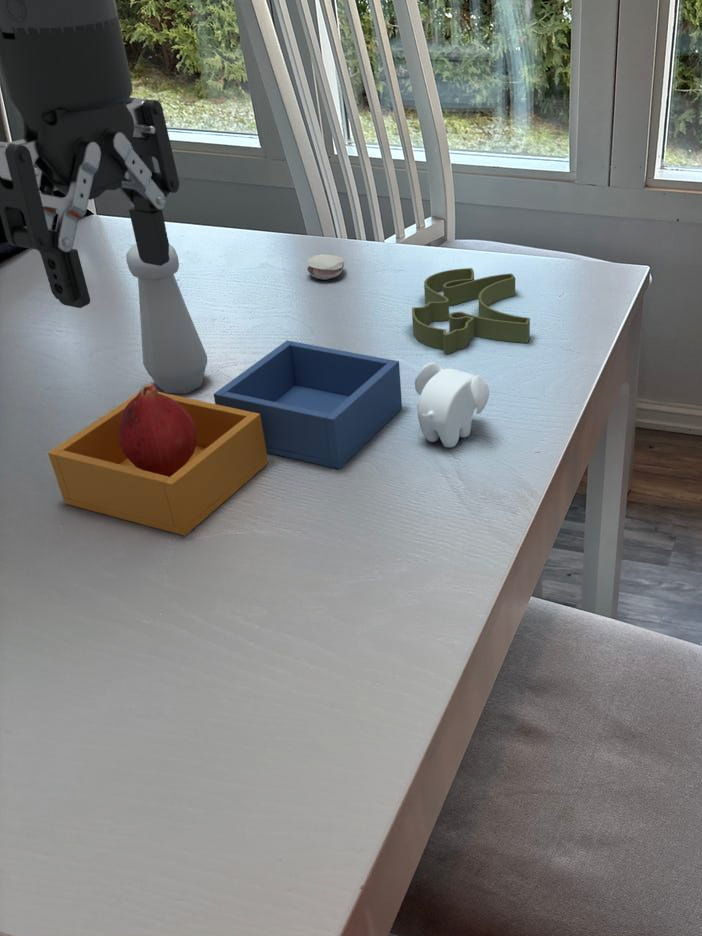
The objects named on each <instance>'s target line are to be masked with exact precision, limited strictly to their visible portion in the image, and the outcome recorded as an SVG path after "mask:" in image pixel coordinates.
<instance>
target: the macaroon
mask: <svg viewBox="0 0 702 936" xmlns="http://www.w3.org/2000/svg"><path fill="white" fill-rule="evenodd" d="M306 265H307V272H308V273H309V274H310V276H312V277H313V278H315V279H317V280H323V281H325V280H327V281H328V280H331V279H334V278H336V277H338V276H339V275H341V273H342V272H343V270H344V267H345V259H344V257H341V256H339V255H335V254H325V253H320V254H315V255H313V256H312V257H310V258H308V259H307V261H306Z"/></svg>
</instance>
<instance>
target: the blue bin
mask: <svg viewBox="0 0 702 936" xmlns="http://www.w3.org/2000/svg"><path fill="white" fill-rule="evenodd" d="M400 369H401V368H400V361H399V360H394V359H390V358H383V357H378V356H373V355H368V354H362V353H357V352H351V351H347V350H340V349H335V348H330V347H324V346H320V345H314V344H309V343H304V342H298V341H293V340H285V341H284V342H282V343H281V344H280V345H278V346H276V347H275V348H274V349H273V350H271V351H270V352H268V353H267V354H266V355H265V356H263V357H262V358H260V359H259V360H258V361H256V362H255V363H253V365H251V366H250V367H248V368H247V369H245V370H244V371H243V372H242V373H240V374H239V375H237V376H236V377H234V378H233V379H232V380H230V381H229V382H227V383H226V384H225V385H223V386H222V387H221V388H219V389H218V390H217V391H215V392H214V393H213V399H214V404H217V405H222V406H226V407H231V408H235V409H240V410H245V411H249V412H254V413H259V414H260V416H261V422H262V428H263V434H264V439H265V445H266V451H267V454H273V455H277V456H281V457H285V458H289V459H294V460H298V461H304V462H307V463H312V464H314V465H319V466H325V467H327V468H328V467H329V468H334V469H338V470H340V469H341V468H343V466H345V465H346V463H348V461H350V459H352V458H353V457H354V456H355V455H356V454H357V453H358V452H359V451H360V450H361V449H362V448H363V447H364V446H365V445H366V444H367V443H368V442H369V441H370V440H371V439H372V438H373V437H375V436H376V435H377V433H379V431H380V430H382V429H383V427H384V426H386V424H387V423H389V422H390V421H391V420H392V419H393V418H394V417H395V416H396V415H397V414H398V413H399V412H400V411H401V410H402V409H403V406H402V405H403V403H402V402H403V401H402V386H401V370H400Z"/></svg>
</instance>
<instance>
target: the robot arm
mask: <svg viewBox="0 0 702 936" xmlns="http://www.w3.org/2000/svg"><path fill="white" fill-rule="evenodd" d="M120 23H121V22H120V19H119V13H118V8H117V3H116V0H0V79H1V82H2V86H3V89H4V93H5V96H6V98H7V100H8V101H9V102H10V103H11V104H12V105H13V106H14V107H15V109H16V110H17V112H18V113H19V115H20V117H21V122H22V139H18V140H14V141H9V142H5V141H0V220H1V223H2V227H3V231H4V235H5V239H6V241H7V242H8V244H9V245H10V246H14V247H19V248H26V249H31V250H36V251H38V252H39V254H40V256H41V260H42V263H43V266H44V270H45V274H46V276H47V281H48V283H49V287H50V291H51V294H52V295H53V297H54V298H55V300H58V301H59V303H60V304H62V305H63V306H68V307H72V308H78V309H82V308H84V307H86V306H88V305H90V303H91V297H90V293H89V290H88V285H87V282H86V277H85V274H84V270H83V267H82V263H81V259H80V254H79V252H78V249H76V248H74V242H75V237H76V233H77V228H78V223H79V220H80V219H83V218H84V217H85V216H86V214H87V210H88V207H89V200H90V201H92V200H93V199H96V198H99V197H100V196H102V194H103V193H105V191H116V190H117V191H118V193H119V194H121V196H122V197H123V198H124V199H125V200H126V202H127V203H128V204H129V205H130V206H133V207H132V208H129V209H128V212H129V213H128V214H129V217H130V221H131V226H132V230H133V235H134V239H135V245H136V244H137V249H138V253H139V257H140V259H141V260H142V261H143V262H144V263H147V264H152V265H158V266H162V265H164V264H166V263H167V262H169V244H170V242H169V237H168V232H167V228H166V223H165V218H164V213H163V209H164V208H165V206H166V200H167V199H166V198H167V197H168V195H169V194H170V193H171V194H176V193H178V191H179V188H180V180H179V176H178V171H177V167H176V162H175V158H174V154H173V153H174V152H173V148H172V145H171V140H170V136H169V135H170V134H169V131H168V127H167V122H166V117H165V113H164V110H163V106H162V104H161V102H160V101H159V100H156V99H155V100H154V99H148V98H139V97H131V96H132V93H133V90H134V89H133V83H132V77H131V72H130V67H129V63H128V62H129V61H128V57H127V53H126V52H127V51H126V48H125V43H124V38H123V33H122V29H121V28H122V27H121V24H120ZM153 158H155V159H156V161H157V165H158V169H159V171H156V169H155V164H154V161H153ZM55 188H56V189H57V190H58V191H59V192H60V193H62V194H63V195H65V196H63V197H62V196H55V195H54V192H55ZM22 214H23V215H22ZM56 215H57V220H56V223H55V224H56V225H55V229H53V225H54V219H55V217H56ZM23 218H24V220H23ZM24 222H25V224H24ZM25 225H26V226H25Z"/></svg>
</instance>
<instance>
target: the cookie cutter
mask: <svg viewBox="0 0 702 936" xmlns="http://www.w3.org/2000/svg"><path fill="white" fill-rule="evenodd" d="M423 288H424V289H423V290H424V303H425V305H424V306H418V307H413V306H412V307H411V317H412V319H411V320H412V332H413V333H412V334H413V335H414V337H415V339H416V340H417V341H418V342H420V343H421V344H423V345H425V346H428V347H431V348H435V349H440V350H443V353H444V355H450V354H452V353H453V352H455V351H456V350H464V349H466V348H468V346H469V342H470V341H471V340H473V339H474V338H475V337H479V338H484V339H489V340H493V341H494V340H495V341H501V342H502V341H503V342H511V343H521V344H522V343H523V344H528V343H529V340H530V334H531V333H530V332H531V318H530V317H526V316H519V315H514V314H510V313H505V312H501V311H499V310H496V309H493V308H492V307H490V305H492V304H494V303H496V302H498V301H501V300H503V299H507V298H511V297H515V296H516V277H515V275H514V273H503V274H502V273H501V274H496V275H495V274H494V275H490V276H486V277H481V278H477V279H475V271H474V269H473V268H472V267H467V268H465V267H464V268H455V269H448V270H443V271H440V272H437V273H434V274H432V275H430V276H428V277H427V278H425V280H424V281H423ZM442 291H443V293H442V294H441V293H439V292H442ZM476 299H478V316H477V315H473V314H469V313H466V312H464V311H455V312H451V313H450V307H451V306H455V305H456V306H457V305H459V304H463V303H465V302H469V301H472V300H476ZM446 321H448V329H449V330H448V331H449V332H448V333H447V329H445V328H439V327H434V326H430V323H431V322H446Z"/></svg>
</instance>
